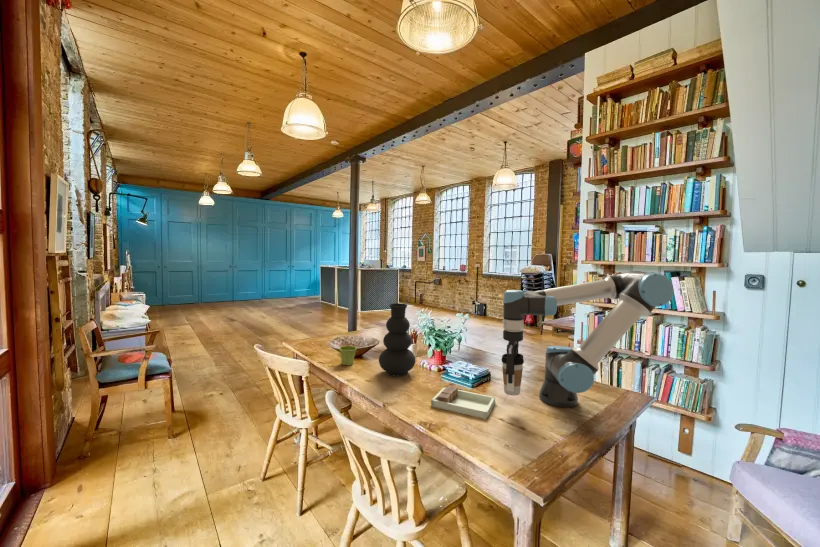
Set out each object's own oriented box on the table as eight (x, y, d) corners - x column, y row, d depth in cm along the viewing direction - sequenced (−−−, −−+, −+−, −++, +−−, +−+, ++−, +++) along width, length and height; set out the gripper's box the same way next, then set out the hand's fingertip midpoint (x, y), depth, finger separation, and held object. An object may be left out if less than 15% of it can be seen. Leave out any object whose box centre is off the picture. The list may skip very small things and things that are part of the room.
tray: (494, 405, 142) (495, 397, 141) (486, 421, 128) (486, 412, 128) (443, 394, 151) (444, 386, 151) (431, 408, 137) (431, 400, 137)
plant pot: (350, 360, 195) (351, 344, 195) (359, 364, 188) (359, 348, 187) (335, 363, 189) (335, 347, 189) (344, 367, 182) (344, 351, 181)
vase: (402, 382, 163) (404, 309, 161) (371, 375, 172) (372, 305, 170) (421, 371, 179) (423, 304, 177) (391, 365, 188) (392, 300, 186)
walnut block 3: (457, 396, 147) (457, 387, 147) (454, 400, 144) (454, 390, 143) (448, 394, 149) (448, 385, 149) (445, 398, 145) (445, 388, 145)
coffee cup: (524, 397, 132) (525, 358, 131) (501, 395, 134) (502, 357, 133) (521, 389, 140) (522, 352, 139) (500, 387, 142) (500, 351, 141)
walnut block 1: (449, 404, 140) (450, 394, 139) (447, 408, 136) (447, 398, 136) (440, 402, 141) (440, 392, 141) (437, 406, 137) (437, 396, 137)
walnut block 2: (453, 399, 144) (453, 390, 143) (450, 403, 140) (450, 393, 140) (444, 397, 145) (444, 388, 145) (441, 401, 142) (441, 392, 141)
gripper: (507, 323, 146) (506, 377, 148) (498, 334, 128) (497, 395, 129) (526, 325, 143) (525, 379, 145) (519, 336, 125) (518, 398, 126)
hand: (512, 386), depth 137 cm, fingers closed on coffee cup, 7 cm apart
